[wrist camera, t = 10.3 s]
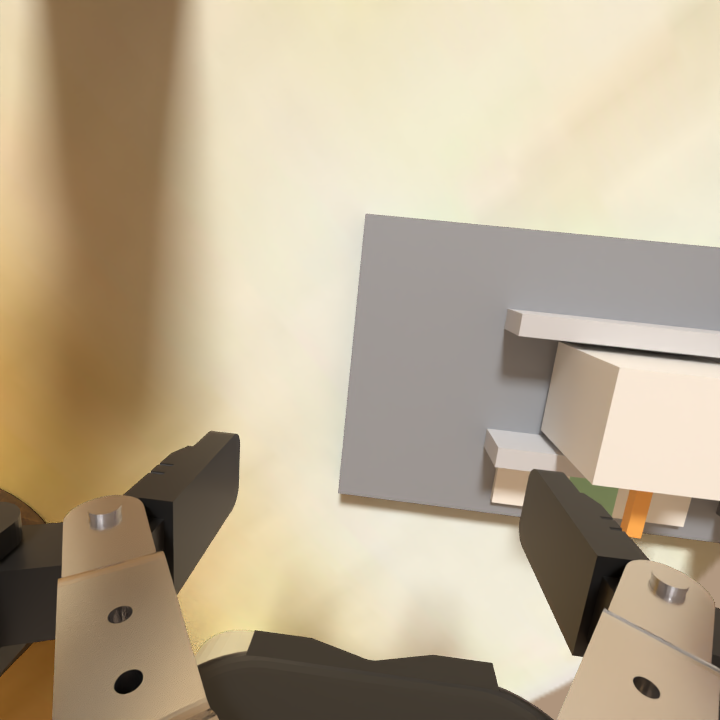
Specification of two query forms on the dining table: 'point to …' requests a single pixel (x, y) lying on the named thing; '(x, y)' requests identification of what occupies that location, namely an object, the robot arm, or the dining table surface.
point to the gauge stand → (505, 356)
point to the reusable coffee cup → (224, 645)
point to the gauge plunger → (637, 423)
